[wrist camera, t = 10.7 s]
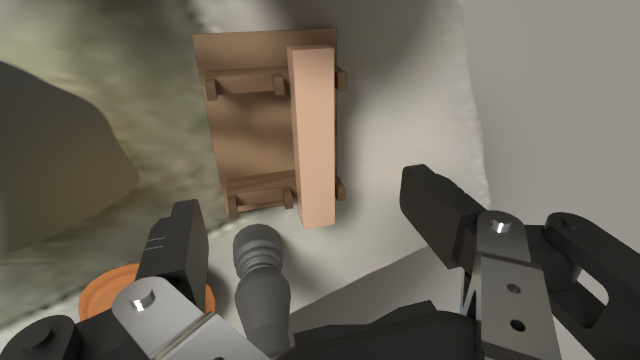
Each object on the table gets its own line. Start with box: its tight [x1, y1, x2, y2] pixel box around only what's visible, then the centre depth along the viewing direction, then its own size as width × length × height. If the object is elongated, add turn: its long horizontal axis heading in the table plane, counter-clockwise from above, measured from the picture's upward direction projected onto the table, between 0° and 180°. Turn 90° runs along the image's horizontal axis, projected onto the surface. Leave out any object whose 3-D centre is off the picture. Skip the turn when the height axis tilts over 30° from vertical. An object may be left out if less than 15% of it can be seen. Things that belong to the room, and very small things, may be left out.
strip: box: [287, 44, 335, 230], centre depth 32 cm, size 18×4×3 cm, turn 2°
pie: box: [79, 259, 216, 322], centre depth 41 cm, size 15×16×5 cm
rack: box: [192, 28, 347, 218], centre depth 34 cm, size 20×14×7 cm
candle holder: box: [233, 224, 291, 360], centre depth 33 cm, size 6×6×25 cm
